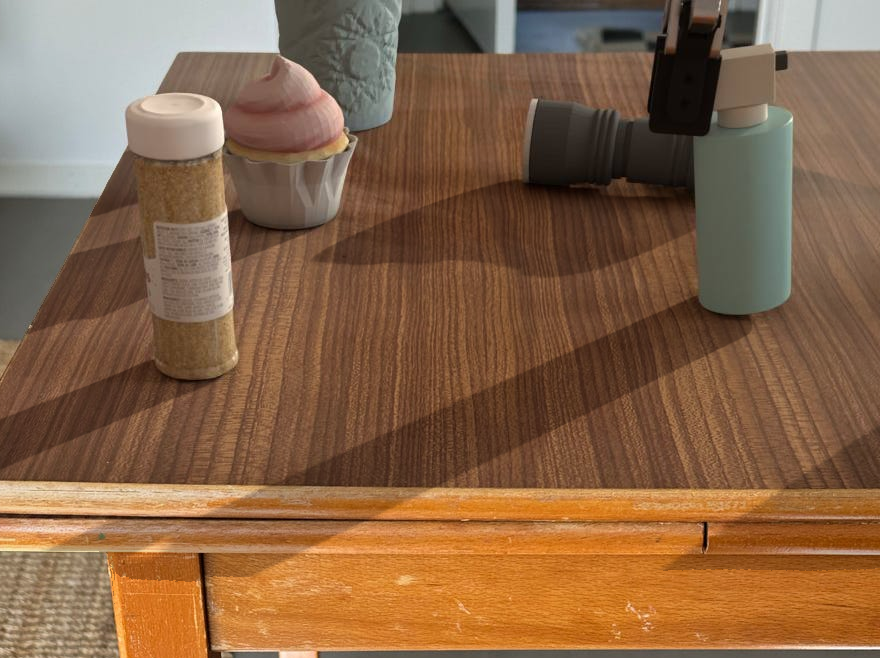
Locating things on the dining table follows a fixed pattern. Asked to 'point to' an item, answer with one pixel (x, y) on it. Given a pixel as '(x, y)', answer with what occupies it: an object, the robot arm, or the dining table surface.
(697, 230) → the spray bottle
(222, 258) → the sprinkles bottle
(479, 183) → the dining table surface
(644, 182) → the flashlight
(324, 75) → the embossed vase
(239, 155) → the cupcake
